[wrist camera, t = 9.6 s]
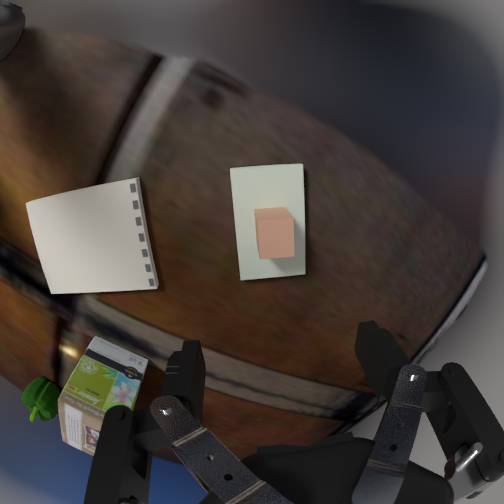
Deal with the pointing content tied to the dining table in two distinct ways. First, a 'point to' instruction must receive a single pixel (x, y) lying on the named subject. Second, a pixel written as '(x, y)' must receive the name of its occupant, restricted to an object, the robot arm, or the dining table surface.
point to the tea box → (98, 391)
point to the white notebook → (94, 239)
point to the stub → (269, 220)
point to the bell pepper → (41, 398)
